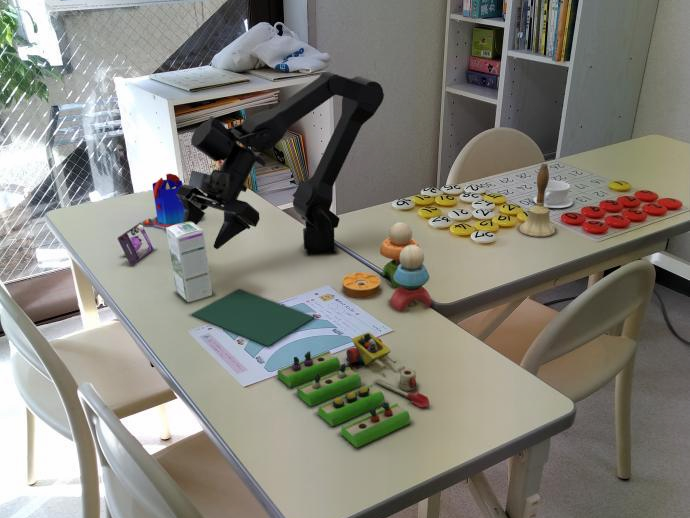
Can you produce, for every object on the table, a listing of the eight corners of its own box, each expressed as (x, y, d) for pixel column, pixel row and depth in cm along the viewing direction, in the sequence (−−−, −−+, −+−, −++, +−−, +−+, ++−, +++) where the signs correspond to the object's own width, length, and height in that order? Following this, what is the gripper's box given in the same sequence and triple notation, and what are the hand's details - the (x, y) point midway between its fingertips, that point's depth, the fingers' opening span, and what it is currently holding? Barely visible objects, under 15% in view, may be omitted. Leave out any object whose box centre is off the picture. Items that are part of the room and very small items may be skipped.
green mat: (191, 315, 144) (191, 314, 144) (239, 290, 153) (238, 289, 153) (268, 347, 134) (268, 345, 134) (314, 318, 143) (314, 317, 142)
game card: (120, 236, 160) (143, 221, 168) (102, 241, 163) (125, 226, 170) (134, 265, 163) (156, 248, 170) (116, 269, 165) (138, 253, 173)
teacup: (542, 193, 198) (544, 176, 196) (578, 200, 193) (581, 183, 191) (526, 204, 192) (528, 187, 189) (563, 212, 186) (566, 194, 184)
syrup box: (213, 295, 151) (205, 228, 144) (186, 303, 148) (176, 235, 141) (201, 285, 155) (192, 219, 148) (174, 292, 152) (164, 226, 145)
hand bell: (516, 234, 175) (523, 168, 167) (522, 221, 182) (530, 157, 173) (552, 239, 173) (561, 172, 164) (557, 226, 179) (566, 161, 171)
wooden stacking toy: (333, 283, 155) (332, 227, 148) (407, 268, 161) (409, 213, 154) (370, 322, 141) (370, 262, 134) (449, 304, 146) (453, 245, 140)
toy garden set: (276, 378, 125) (274, 355, 123) (368, 342, 135) (368, 320, 132) (356, 448, 109) (356, 423, 107) (454, 403, 118) (456, 379, 116)
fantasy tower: (174, 234, 178) (167, 185, 172) (138, 224, 184) (130, 177, 178) (206, 217, 187) (201, 171, 181) (171, 209, 192) (165, 163, 186)
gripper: (177, 145, 148) (141, 214, 147) (244, 161, 138) (207, 236, 137) (210, 173, 158) (177, 238, 156) (275, 190, 148) (241, 260, 146)
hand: (199, 242), depth 149 cm, fingers open, 9 cm apart
